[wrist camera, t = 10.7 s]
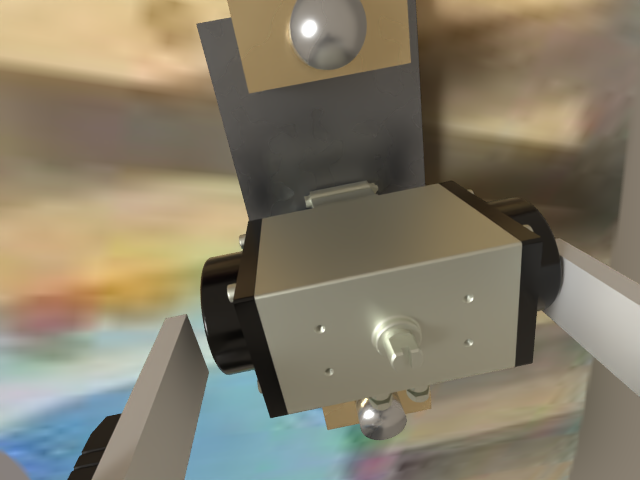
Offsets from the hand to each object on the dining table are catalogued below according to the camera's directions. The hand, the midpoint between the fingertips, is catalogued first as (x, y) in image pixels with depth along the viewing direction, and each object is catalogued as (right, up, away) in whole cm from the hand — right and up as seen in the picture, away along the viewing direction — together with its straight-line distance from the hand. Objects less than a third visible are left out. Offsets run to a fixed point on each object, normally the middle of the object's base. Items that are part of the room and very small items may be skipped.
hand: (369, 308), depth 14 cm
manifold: (-1, +4, +9) cm, 10 cm away
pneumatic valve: (-1, +4, +8) cm, 9 cm away
